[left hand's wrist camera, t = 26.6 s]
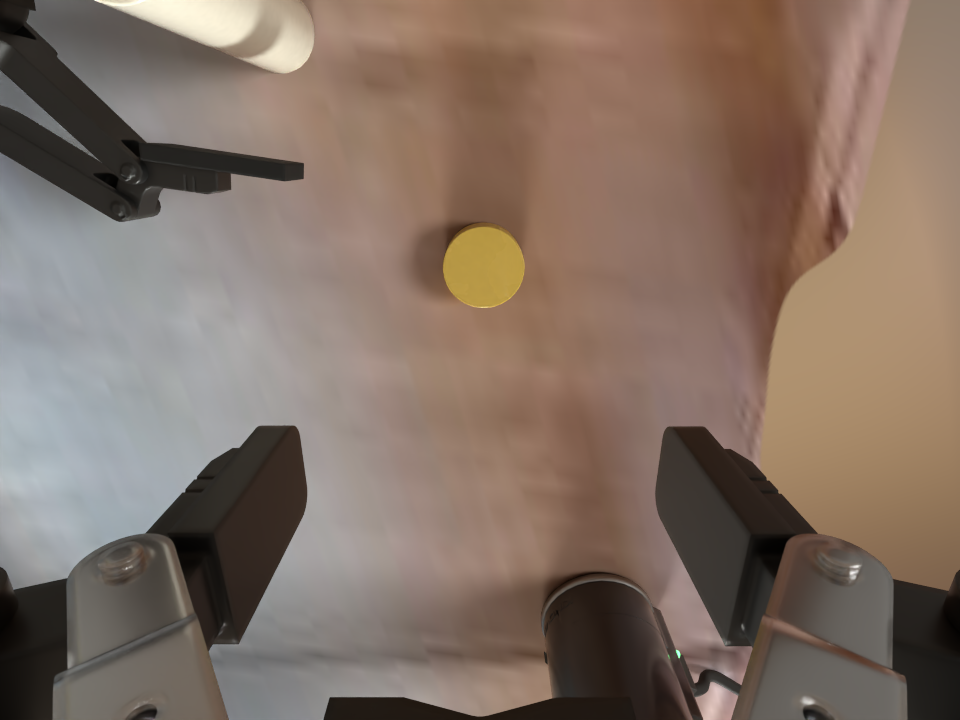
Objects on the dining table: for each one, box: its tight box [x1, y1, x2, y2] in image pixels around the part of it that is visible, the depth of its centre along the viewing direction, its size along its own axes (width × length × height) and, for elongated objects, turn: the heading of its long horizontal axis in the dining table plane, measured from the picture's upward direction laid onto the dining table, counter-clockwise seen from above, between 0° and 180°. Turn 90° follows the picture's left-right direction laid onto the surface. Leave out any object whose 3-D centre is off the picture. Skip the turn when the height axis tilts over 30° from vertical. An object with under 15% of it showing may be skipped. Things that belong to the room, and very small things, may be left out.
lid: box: [443, 223, 524, 308], centre depth 32 cm, size 5×5×2 cm
